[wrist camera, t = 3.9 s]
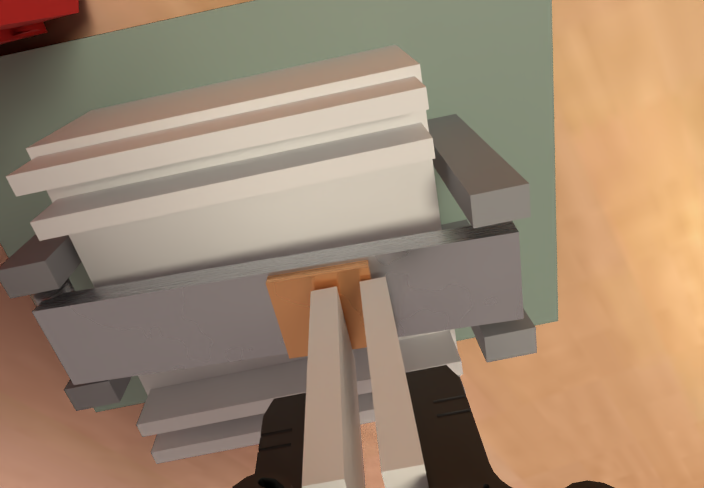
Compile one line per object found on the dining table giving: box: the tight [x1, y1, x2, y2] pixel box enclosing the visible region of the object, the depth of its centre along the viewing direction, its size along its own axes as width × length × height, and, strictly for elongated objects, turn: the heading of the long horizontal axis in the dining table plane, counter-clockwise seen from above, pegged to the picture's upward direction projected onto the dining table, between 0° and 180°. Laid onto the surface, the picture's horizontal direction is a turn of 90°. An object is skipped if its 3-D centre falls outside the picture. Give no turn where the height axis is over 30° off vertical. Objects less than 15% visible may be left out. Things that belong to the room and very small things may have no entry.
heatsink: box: [0, 0, 558, 464], centre depth 20 cm, size 24×17×9 cm
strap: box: [30, 221, 524, 385], centre depth 17 cm, size 15×3×2 cm, turn 101°
